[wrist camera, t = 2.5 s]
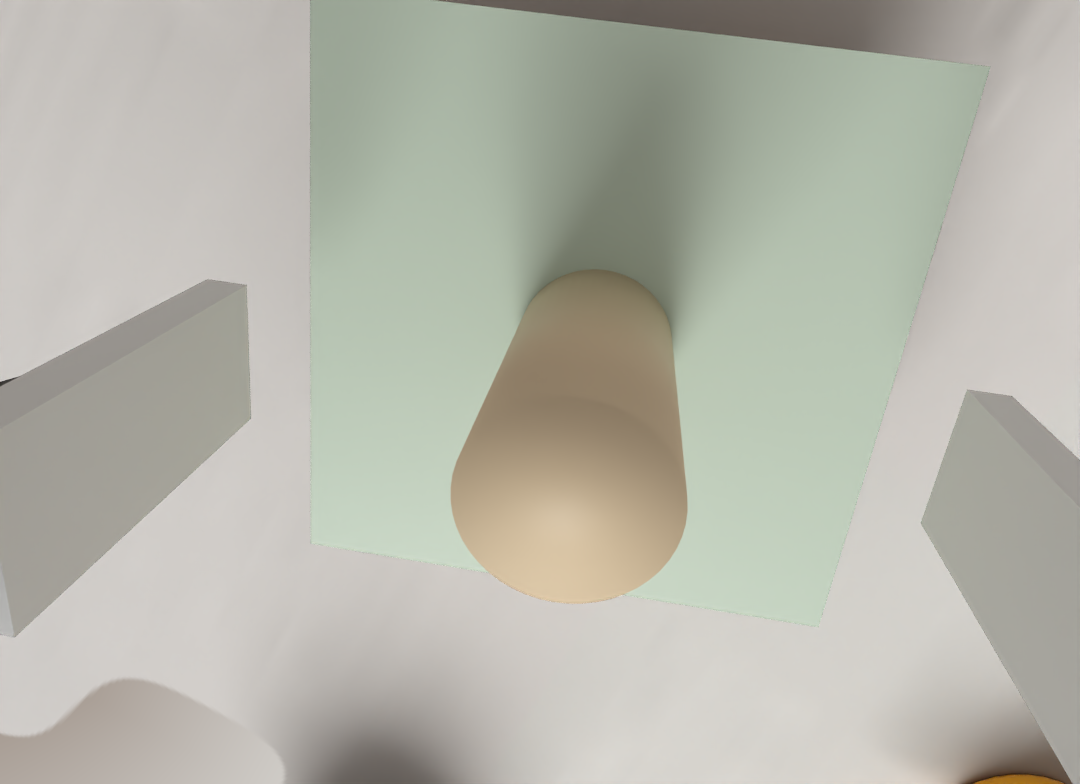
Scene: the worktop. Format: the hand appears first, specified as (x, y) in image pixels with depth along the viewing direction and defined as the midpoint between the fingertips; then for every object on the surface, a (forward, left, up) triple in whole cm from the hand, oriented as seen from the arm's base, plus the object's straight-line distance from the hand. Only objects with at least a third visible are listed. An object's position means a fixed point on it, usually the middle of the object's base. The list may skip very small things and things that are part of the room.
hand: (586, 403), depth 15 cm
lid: (0, 0, -4) cm, 5 cm away
